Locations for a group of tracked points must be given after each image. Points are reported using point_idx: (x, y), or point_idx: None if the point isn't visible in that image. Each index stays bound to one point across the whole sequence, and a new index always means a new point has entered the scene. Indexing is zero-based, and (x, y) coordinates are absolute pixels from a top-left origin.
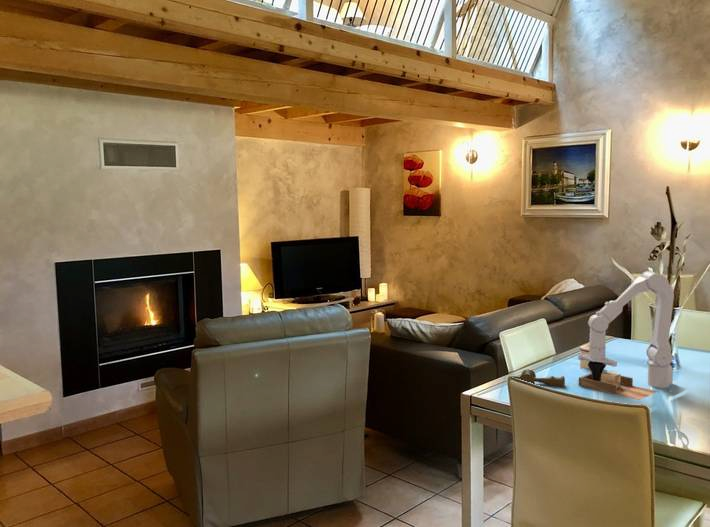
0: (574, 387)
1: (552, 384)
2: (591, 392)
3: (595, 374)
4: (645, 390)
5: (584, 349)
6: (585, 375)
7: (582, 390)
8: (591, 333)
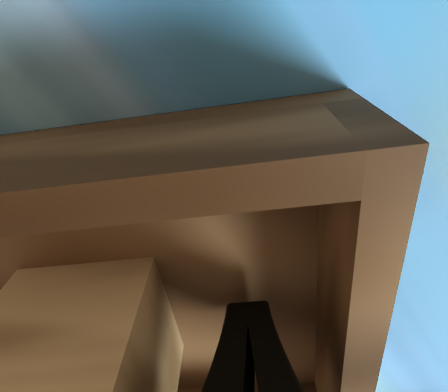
0: (404, 60)
1: None
2: (123, 61)
3: (238, 388)
4: None
5: None
6: (379, 318)
7: (251, 33)
8: None
